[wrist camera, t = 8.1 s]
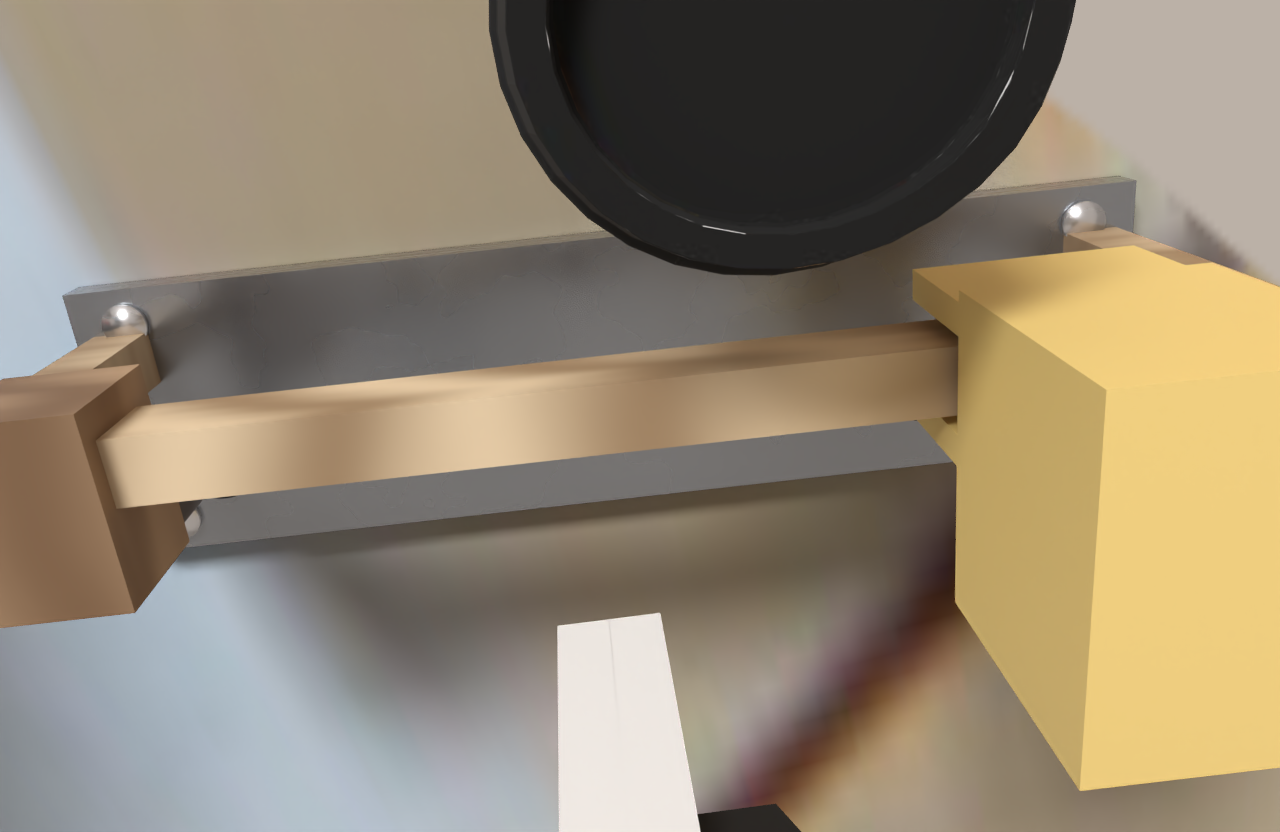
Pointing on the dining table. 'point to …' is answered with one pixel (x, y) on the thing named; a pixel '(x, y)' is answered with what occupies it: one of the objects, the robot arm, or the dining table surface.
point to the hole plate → (549, 347)
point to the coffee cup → (772, 116)
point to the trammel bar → (401, 434)
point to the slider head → (1120, 503)
